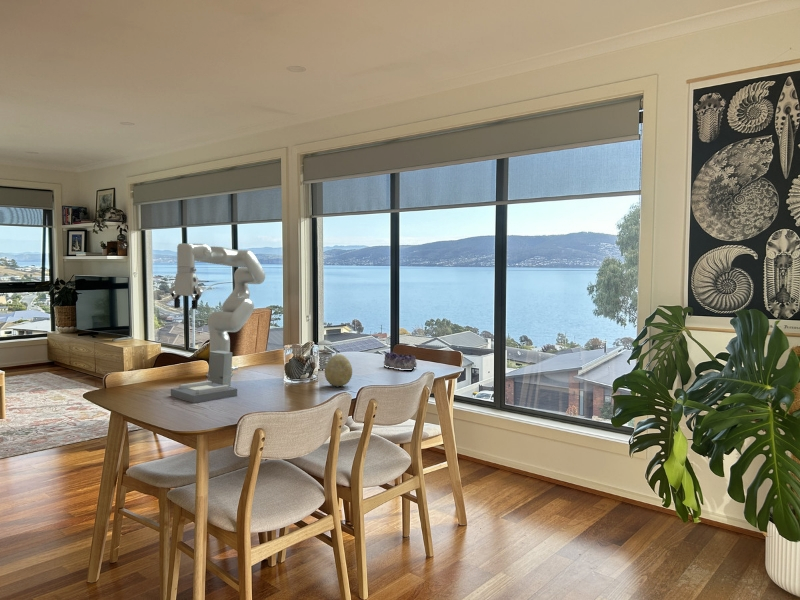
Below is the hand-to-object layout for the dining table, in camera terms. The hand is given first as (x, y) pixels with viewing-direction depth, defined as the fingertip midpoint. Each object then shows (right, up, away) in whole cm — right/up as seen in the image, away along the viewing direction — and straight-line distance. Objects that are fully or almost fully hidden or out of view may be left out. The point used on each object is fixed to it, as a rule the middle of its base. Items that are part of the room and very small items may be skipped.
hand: (185, 308), depth 282 cm
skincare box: (+16, -35, -3) cm, 39 cm away
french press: (+58, -33, +50) cm, 83 cm away
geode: (+97, -34, +55) cm, 117 cm away
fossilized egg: (+69, -36, +3) cm, 78 cm away
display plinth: (+16, -36, -24) cm, 46 cm away
